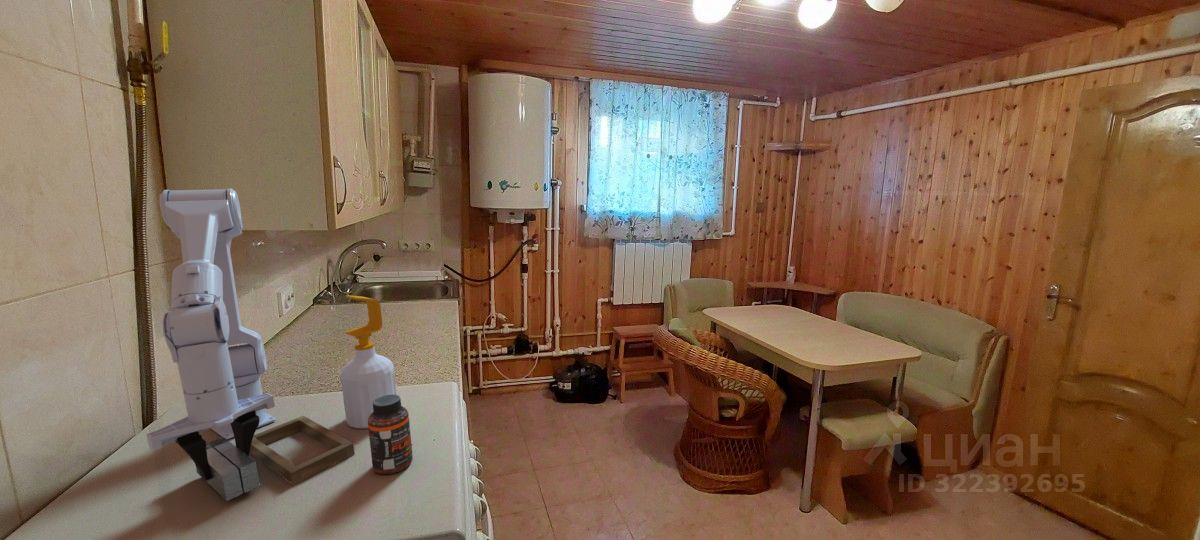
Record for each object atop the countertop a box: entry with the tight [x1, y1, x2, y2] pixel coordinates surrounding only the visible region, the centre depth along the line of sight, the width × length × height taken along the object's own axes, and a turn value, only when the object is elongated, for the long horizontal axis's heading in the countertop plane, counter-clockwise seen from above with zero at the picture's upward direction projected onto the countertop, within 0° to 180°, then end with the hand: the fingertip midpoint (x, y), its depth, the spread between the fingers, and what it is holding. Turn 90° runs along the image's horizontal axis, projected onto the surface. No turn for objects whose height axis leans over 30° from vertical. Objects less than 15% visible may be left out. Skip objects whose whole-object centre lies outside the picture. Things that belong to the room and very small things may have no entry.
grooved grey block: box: [194, 437, 260, 502], centre depth 70 cm, size 12×4×4 cm, turn 56°
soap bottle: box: [339, 294, 398, 429], centre depth 87 cm, size 9×9×25 cm
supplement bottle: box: [367, 394, 413, 475], centre depth 73 cm, size 6×6×11 cm
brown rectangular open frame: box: [249, 415, 356, 486], centre depth 78 cm, size 17×9×2 cm, turn 56°
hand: (225, 469), depth 70 cm, fingers closed on grooved grey block, 4 cm apart
